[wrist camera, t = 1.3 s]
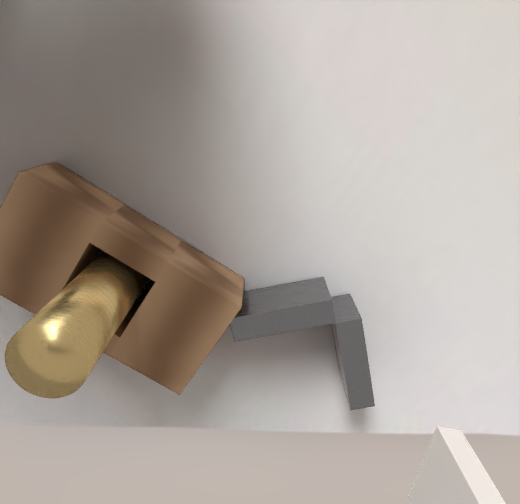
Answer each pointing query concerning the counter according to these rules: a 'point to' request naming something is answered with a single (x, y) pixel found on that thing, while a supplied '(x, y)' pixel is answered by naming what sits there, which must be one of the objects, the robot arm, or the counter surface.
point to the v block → (308, 316)
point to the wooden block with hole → (127, 251)
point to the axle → (73, 329)
